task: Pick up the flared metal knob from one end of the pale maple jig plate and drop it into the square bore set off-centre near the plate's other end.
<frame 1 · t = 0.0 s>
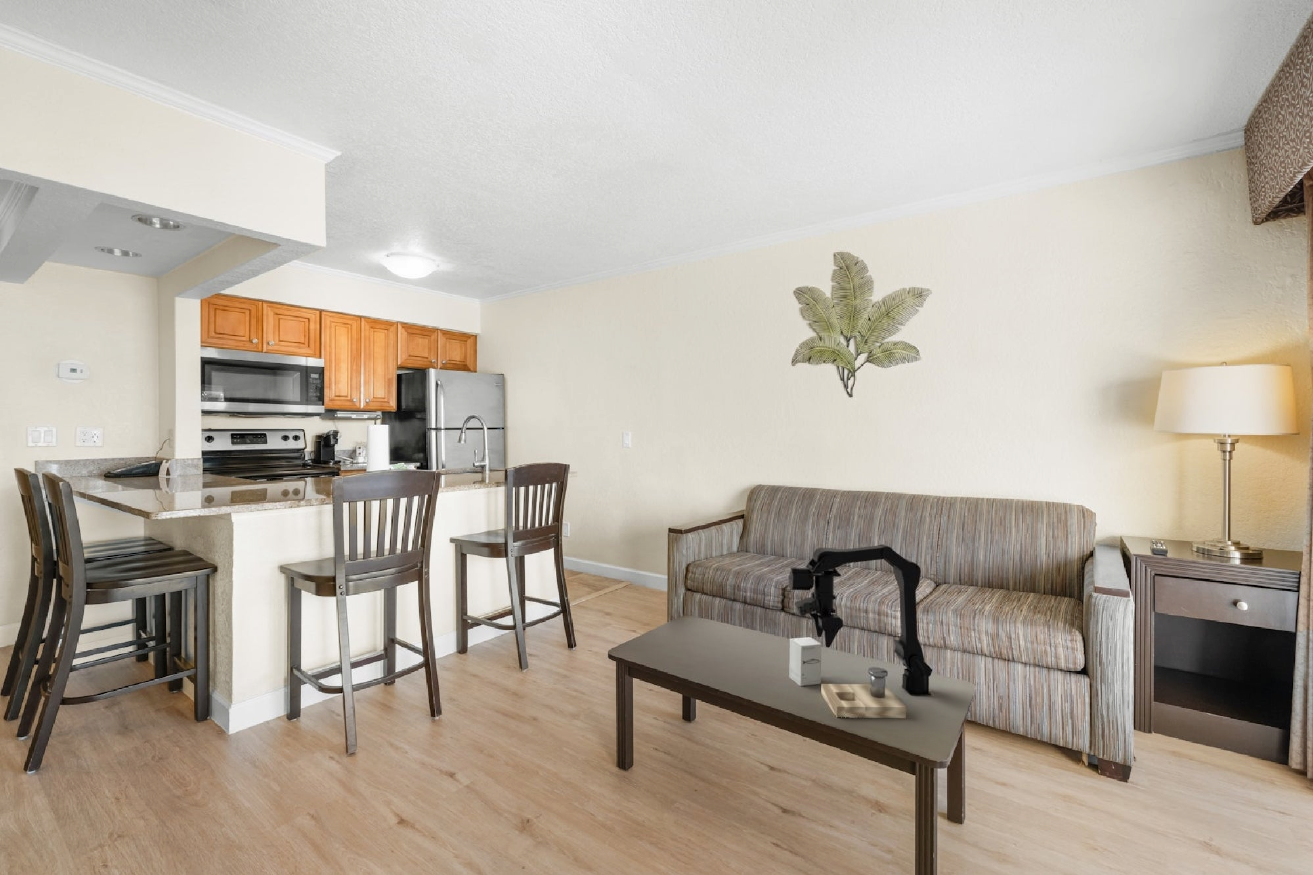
hand: (823, 641, 180), 15 cm above the table, tool pointing down, fingers open, 9 cm apart
flared metal knob: (877, 695, 170), point 3 cm above the table, touching jig plate
jig plate: (861, 705, 170), on the table
supplement box: (804, 681, 187), on the table
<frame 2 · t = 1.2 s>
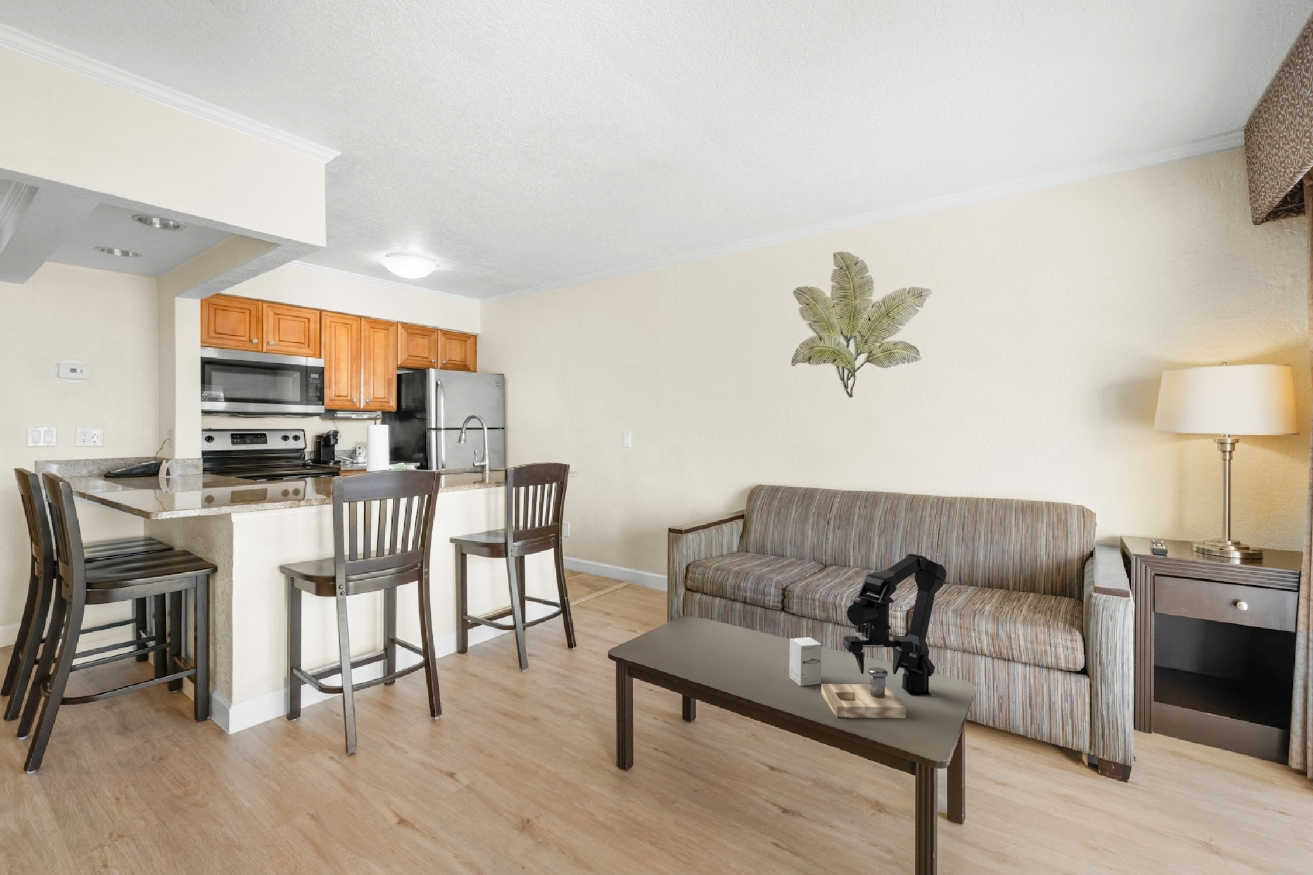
hand: (878, 673, 171), 9 cm above the table, tool pointing down, fingers open, 9 cm apart
nothing on the table moved.
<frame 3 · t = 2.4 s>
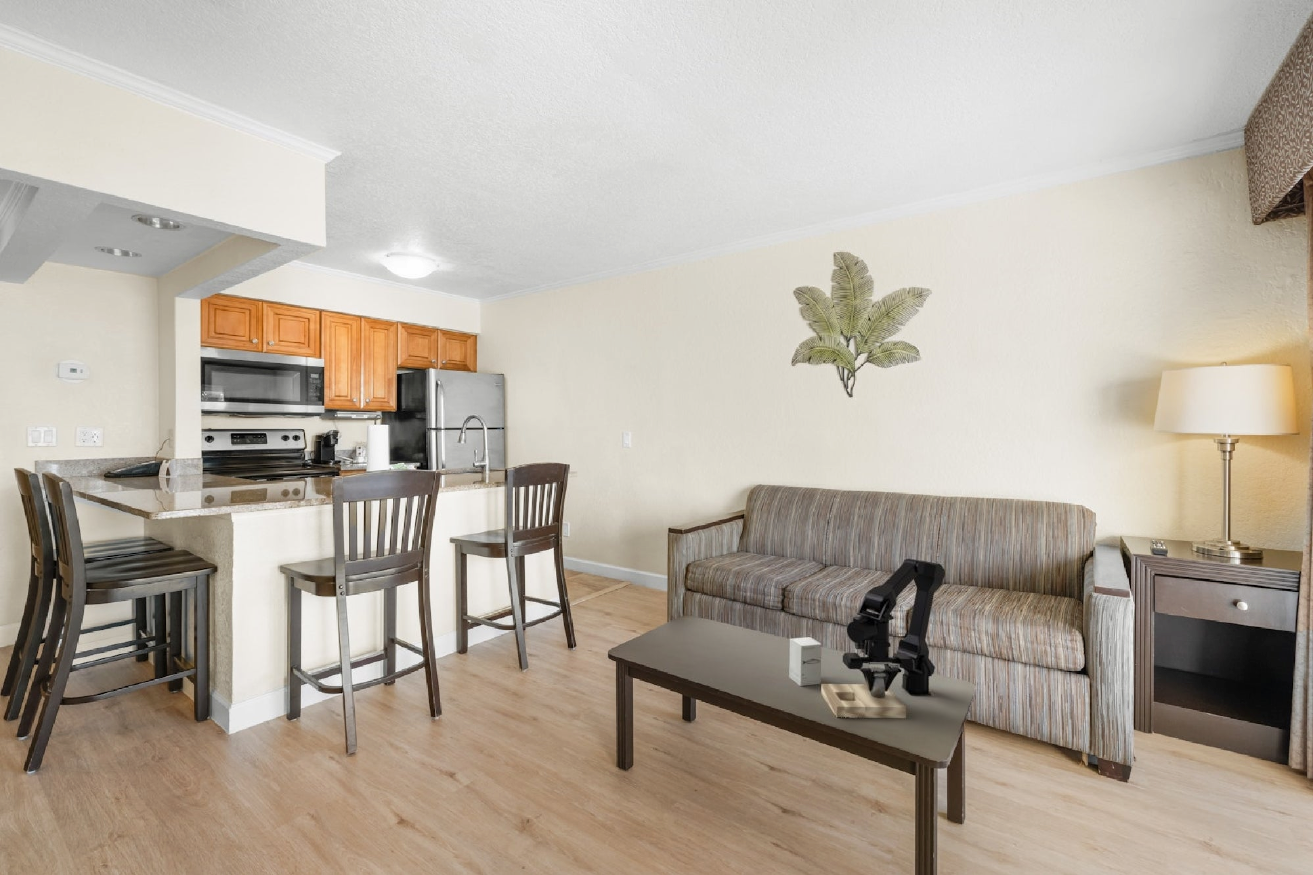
hand: (877, 690, 170), 4 cm above the table, tool pointing down, fingers closed on flared metal knob, 4 cm apart
flared metal knob: (877, 695, 170), point 3 cm above the table, touching gripper, jig plate
everything else where it was.
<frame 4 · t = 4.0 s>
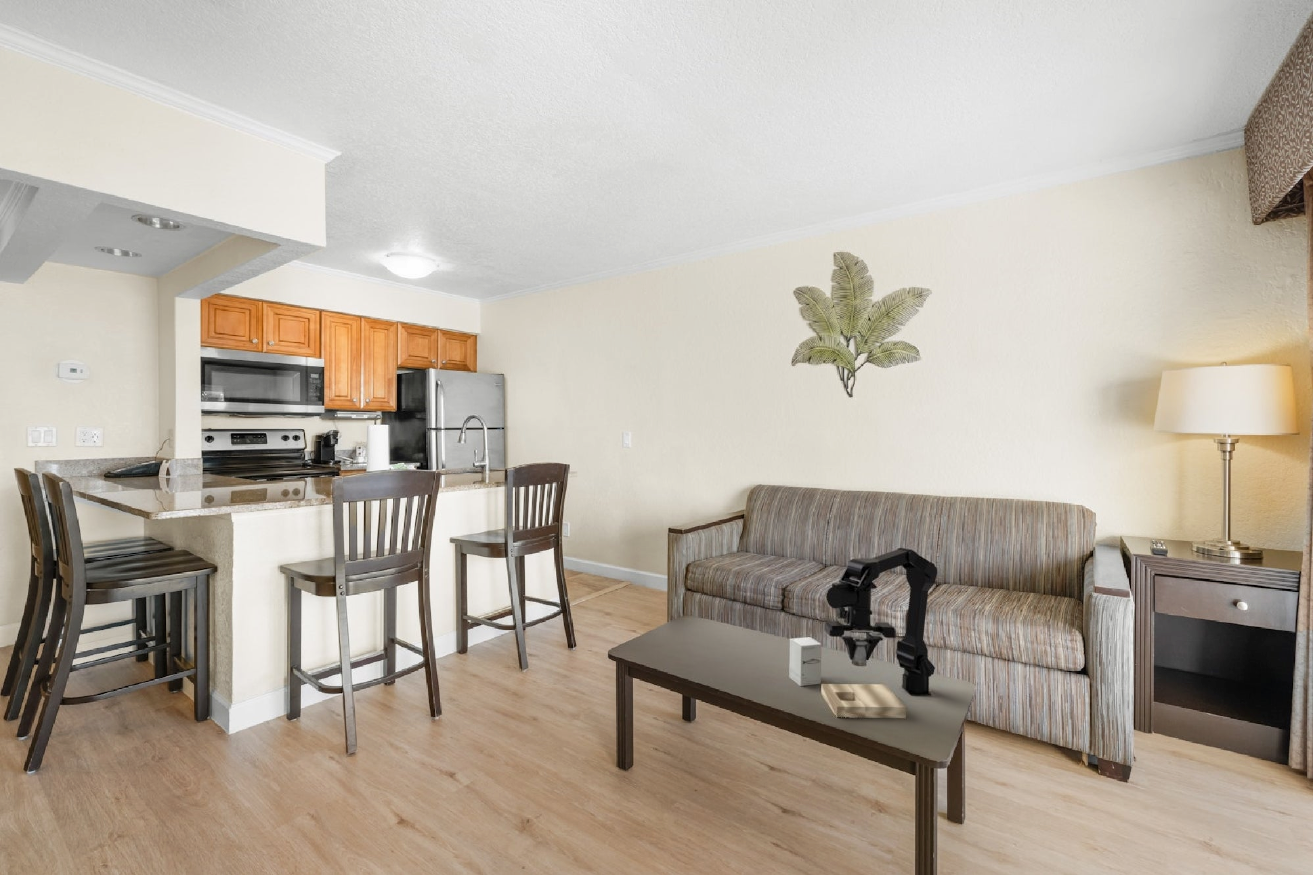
hand: (859, 659, 170), 13 cm above the table, tool pointing down, fingers closed on flared metal knob, 4 cm apart
flared metal knob: (859, 663, 170), point 12 cm above the table, touching gripper
everything else where it was.
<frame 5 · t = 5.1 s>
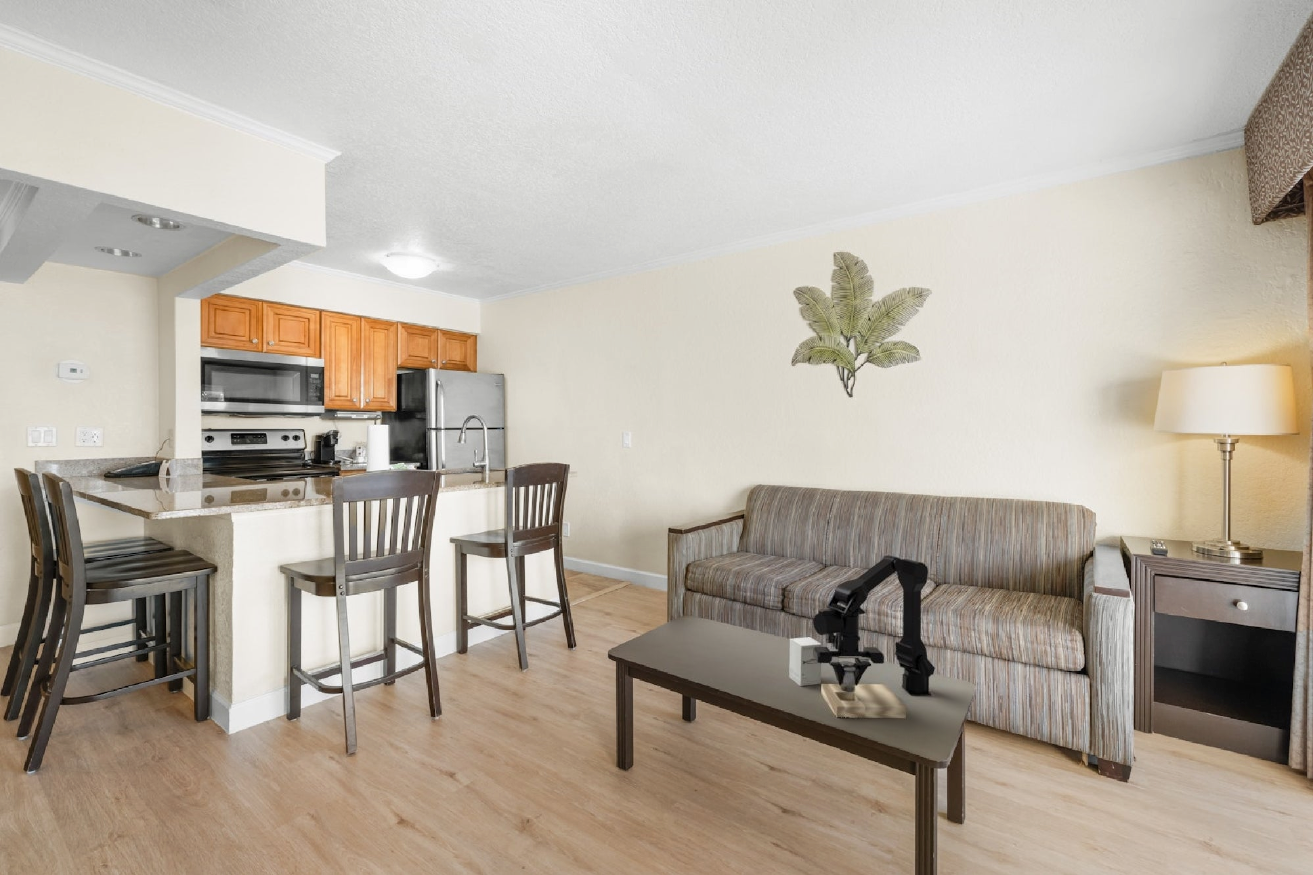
hand: (847, 684, 169), 6 cm above the table, tool pointing down, fingers closed on flared metal knob, 4 cm apart
flared metal knob: (847, 689, 169), point 5 cm above the table, touching gripper
everything else where it was.
when the fingers open (4 cm above the table, at t = 5.9 s): flared metal knob drops 3 cm, resting in jig plate.
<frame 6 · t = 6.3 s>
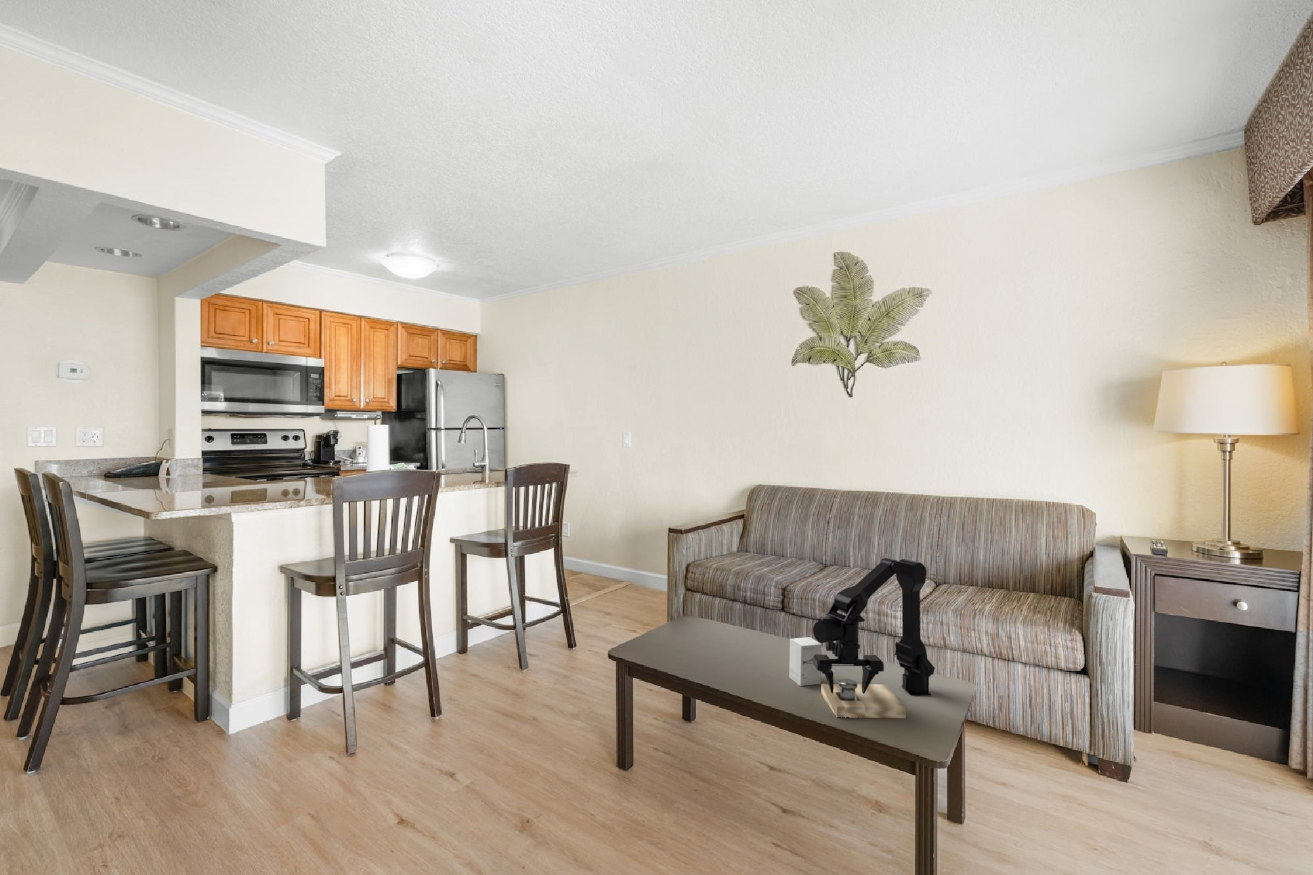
hand: (847, 692, 169), 4 cm above the table, tool pointing down, fingers open, 9 cm apart
flared metal knob: (847, 707, 169), resting in jig plate
everything else where it was.
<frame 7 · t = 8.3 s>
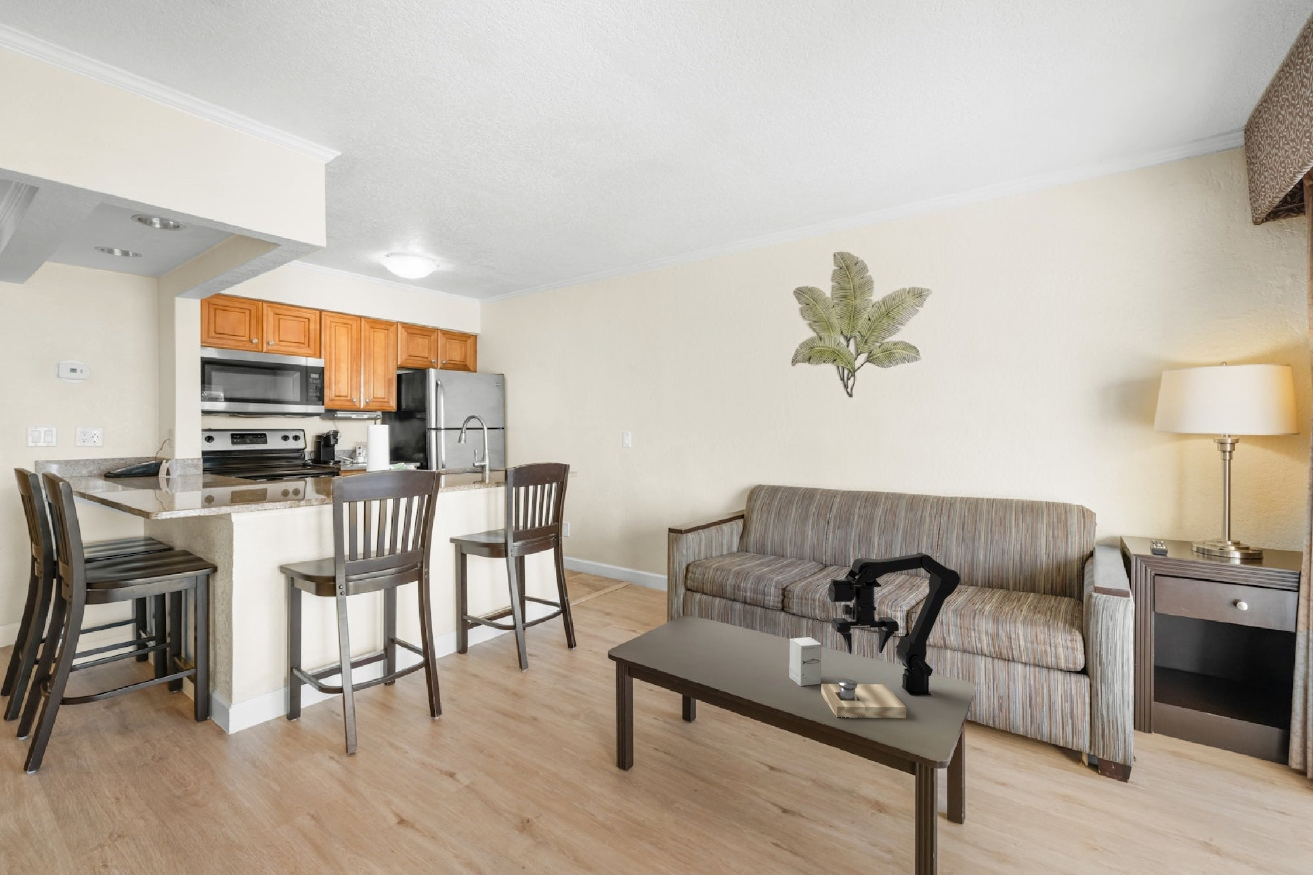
hand: (865, 653, 180), 12 cm above the table, tool pointing down, fingers open, 9 cm apart
nothing on the table moved.
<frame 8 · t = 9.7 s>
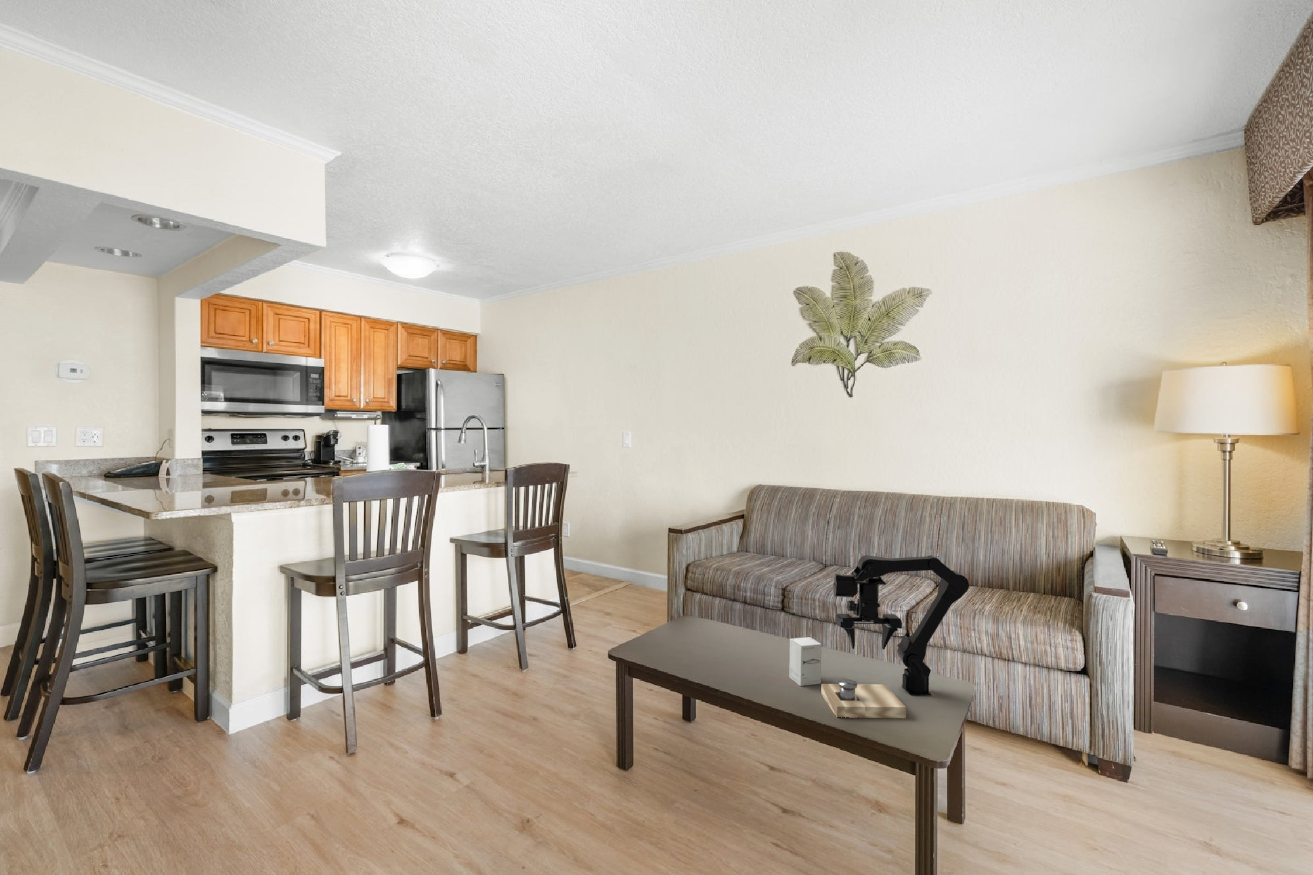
hand: (868, 648, 182), 12 cm above the table, tool pointing down, fingers open, 9 cm apart
nothing on the table moved.
at the end: flared metal knob 0.0 cm from the target spot on the jig plate, point 0.0 cm above the jig plate's base; flared metal knob tilted 0°; the gripper is holding nothing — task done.
